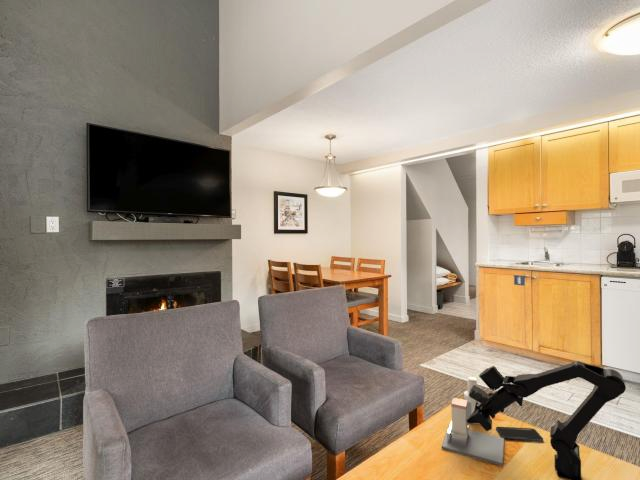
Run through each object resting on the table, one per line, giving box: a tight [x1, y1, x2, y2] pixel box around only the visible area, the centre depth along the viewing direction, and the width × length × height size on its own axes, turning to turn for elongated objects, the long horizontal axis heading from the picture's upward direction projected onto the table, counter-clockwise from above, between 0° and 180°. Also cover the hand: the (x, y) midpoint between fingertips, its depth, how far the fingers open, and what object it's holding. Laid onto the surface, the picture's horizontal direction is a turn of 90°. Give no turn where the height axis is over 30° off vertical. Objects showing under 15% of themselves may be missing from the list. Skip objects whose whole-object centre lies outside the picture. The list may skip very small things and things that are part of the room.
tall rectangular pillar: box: [450, 397, 469, 437], centre depth 131 cm, size 5×5×14 cm
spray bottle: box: [463, 376, 480, 425], centre depth 145 cm, size 7×7×18 cm
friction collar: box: [446, 421, 470, 447], centre depth 131 cm, size 7×9×4 cm
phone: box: [495, 426, 544, 443], centre depth 134 cm, size 8×1×15 cm
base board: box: [441, 424, 505, 467], centre depth 129 cm, size 20×16×1 cm
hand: (467, 421), depth 129 cm, fingers closed, pressing on tall rectangular pillar
